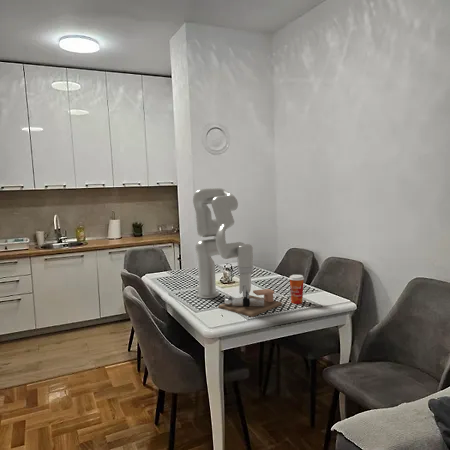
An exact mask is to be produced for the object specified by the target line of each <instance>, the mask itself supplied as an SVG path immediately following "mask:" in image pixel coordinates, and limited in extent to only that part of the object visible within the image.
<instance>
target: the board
mask: <svg viewBox="0 0 450 450" xmlns="http://www.w3.org/2000/svg"><path fill="white" fill-rule="evenodd" d="M240 298H243V296H242V297H240ZM249 298H261V297H259V296H257V295H256V296H255V295H250V294H249ZM280 306H282V301H278V300H277V301H276V300H273V302H267V301H266V300H264V306H249V307H244V306H226V305H225V302H224V303H221V304H219V305H218V307H217V308H218V309H221V310H225V311H229V312H232V313H236V314H240V315H244V316H246V317H247V316H248V317H250V318H253V317H256V316H258V315H261V314H263V313H265V312H267V310H268V311H270V310H272V308H273V309H275V308H278V307H280ZM260 313H261V314H260Z"/></svg>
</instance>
